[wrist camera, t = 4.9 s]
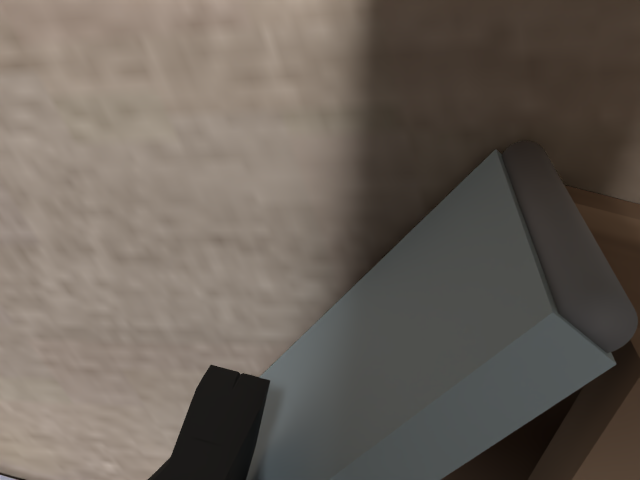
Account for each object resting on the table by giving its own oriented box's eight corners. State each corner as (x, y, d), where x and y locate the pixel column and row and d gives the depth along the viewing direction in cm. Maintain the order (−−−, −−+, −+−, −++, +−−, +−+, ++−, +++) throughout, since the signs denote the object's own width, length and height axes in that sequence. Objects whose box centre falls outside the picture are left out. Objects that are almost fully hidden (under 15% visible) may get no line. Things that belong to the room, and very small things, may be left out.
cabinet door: (199, 481, 20) (115, 692, 14) (145, 447, 19) (38, 651, 14) (558, 160, 13) (663, 334, 7) (486, 95, 12) (540, 229, 7)
